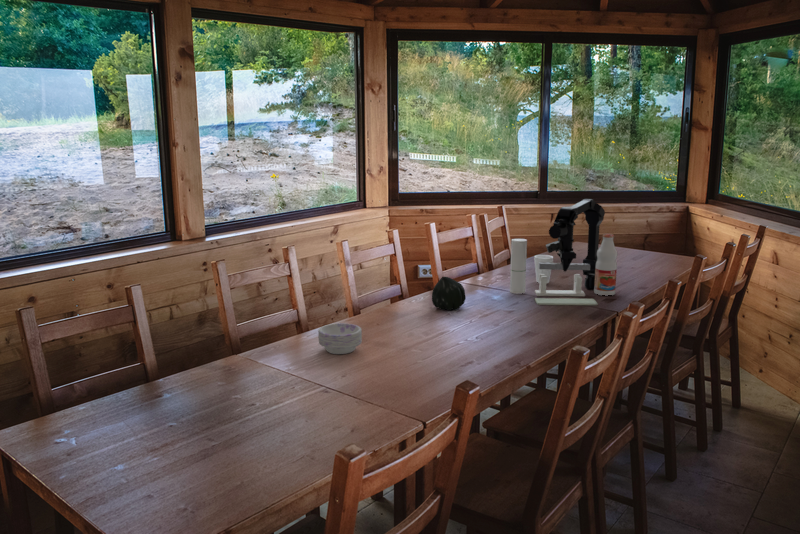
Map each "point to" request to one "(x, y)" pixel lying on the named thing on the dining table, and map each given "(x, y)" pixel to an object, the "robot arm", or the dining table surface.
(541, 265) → the metal rail
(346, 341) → the paper bowls
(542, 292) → the stand
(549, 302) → the pale sage plank
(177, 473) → the dining table surface
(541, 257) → the foam cup
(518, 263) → the cylindrical container
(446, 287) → the squash
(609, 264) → the fruit juice
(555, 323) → the dining table surface
